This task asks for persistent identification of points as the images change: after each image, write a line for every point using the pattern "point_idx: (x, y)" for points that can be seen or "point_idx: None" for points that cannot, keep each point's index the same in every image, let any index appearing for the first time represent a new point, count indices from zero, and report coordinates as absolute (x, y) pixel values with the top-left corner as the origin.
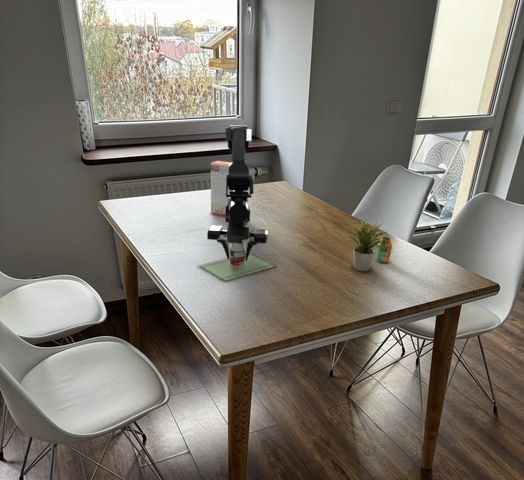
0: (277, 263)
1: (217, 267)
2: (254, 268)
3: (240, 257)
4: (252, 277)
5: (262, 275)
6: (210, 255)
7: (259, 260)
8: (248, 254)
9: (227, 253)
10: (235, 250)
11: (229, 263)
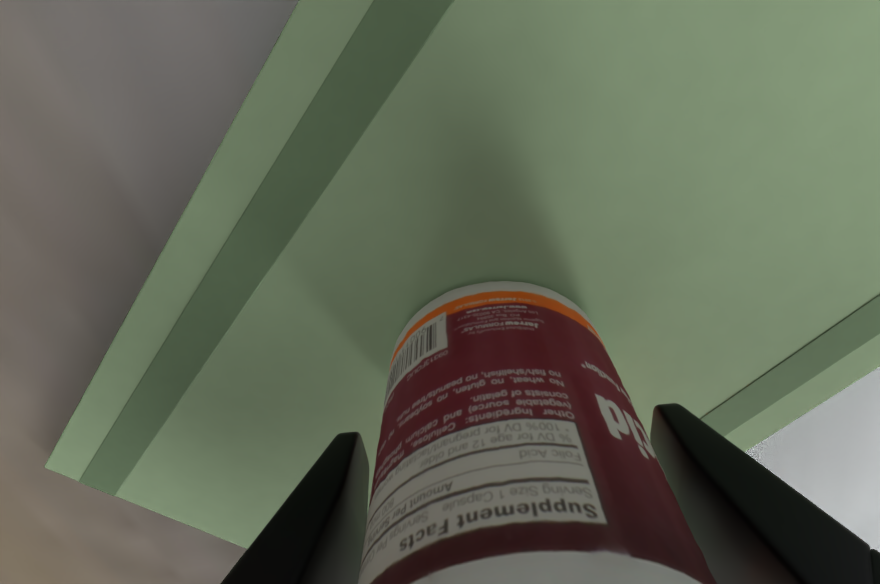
0: (84, 537)
1: (807, 224)
2: (230, 350)
3: (423, 434)
4: (98, 23)
5: (3, 174)
6: (859, 531)
7: None
8: (260, 541)
9: (748, 491)
10: (573, 580)
11: None
